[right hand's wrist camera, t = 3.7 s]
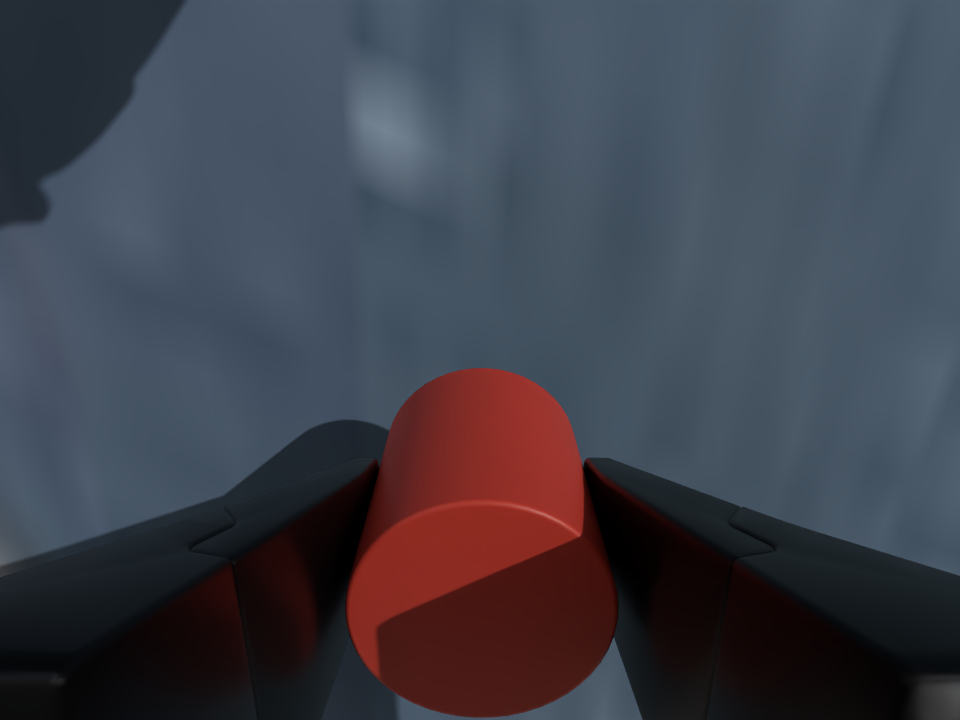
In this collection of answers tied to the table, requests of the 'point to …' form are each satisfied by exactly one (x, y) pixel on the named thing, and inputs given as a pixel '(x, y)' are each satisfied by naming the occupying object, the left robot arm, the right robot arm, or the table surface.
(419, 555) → the cylinder
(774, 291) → the table surface
